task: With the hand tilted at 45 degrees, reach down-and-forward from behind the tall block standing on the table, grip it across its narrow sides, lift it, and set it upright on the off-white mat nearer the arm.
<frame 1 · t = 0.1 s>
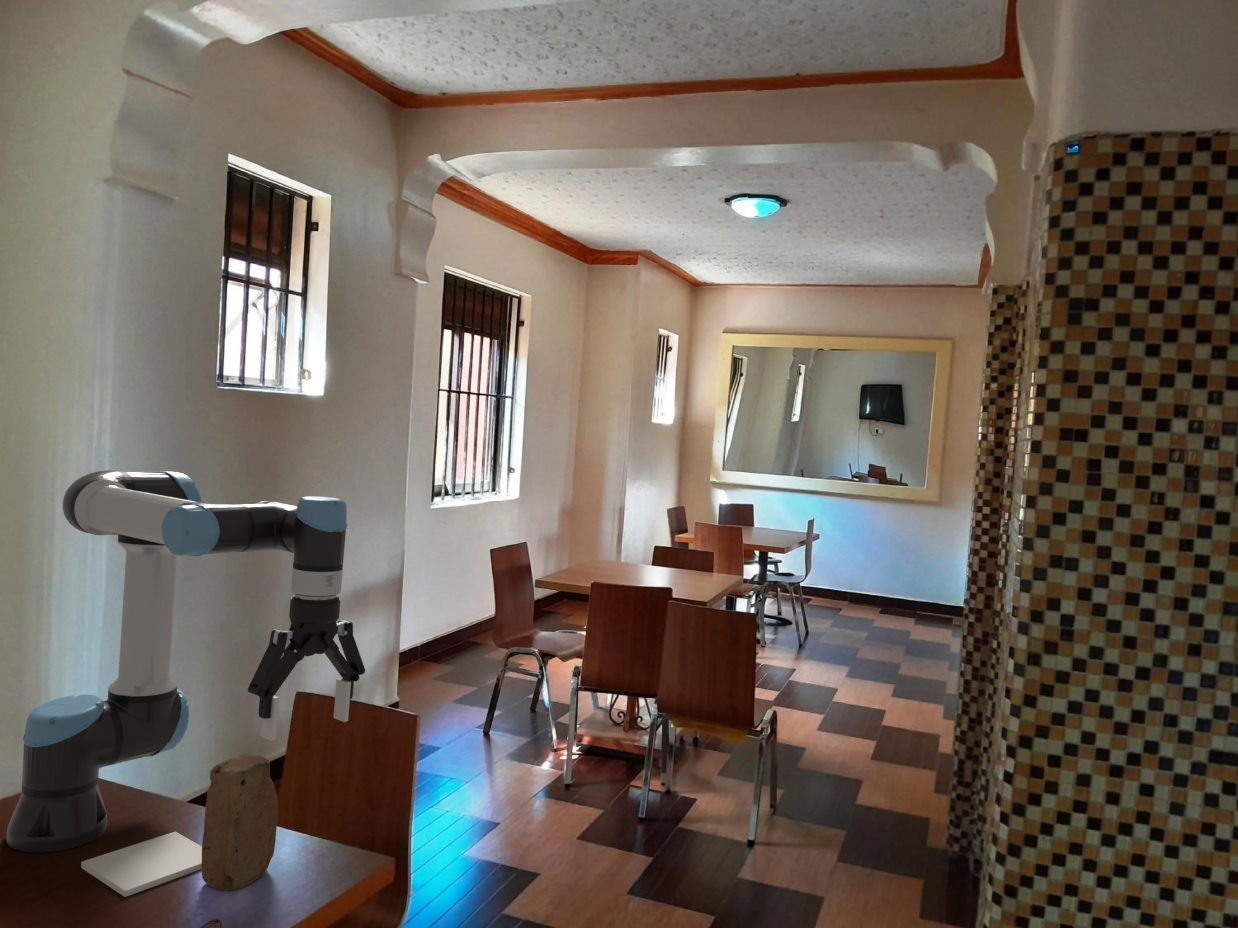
hand: (305, 728, 144), 28 cm above the table, tool pointing down, fingers open, 13 cm apart
mat: (151, 864, 153), on the table
block: (238, 879, 151), on the table
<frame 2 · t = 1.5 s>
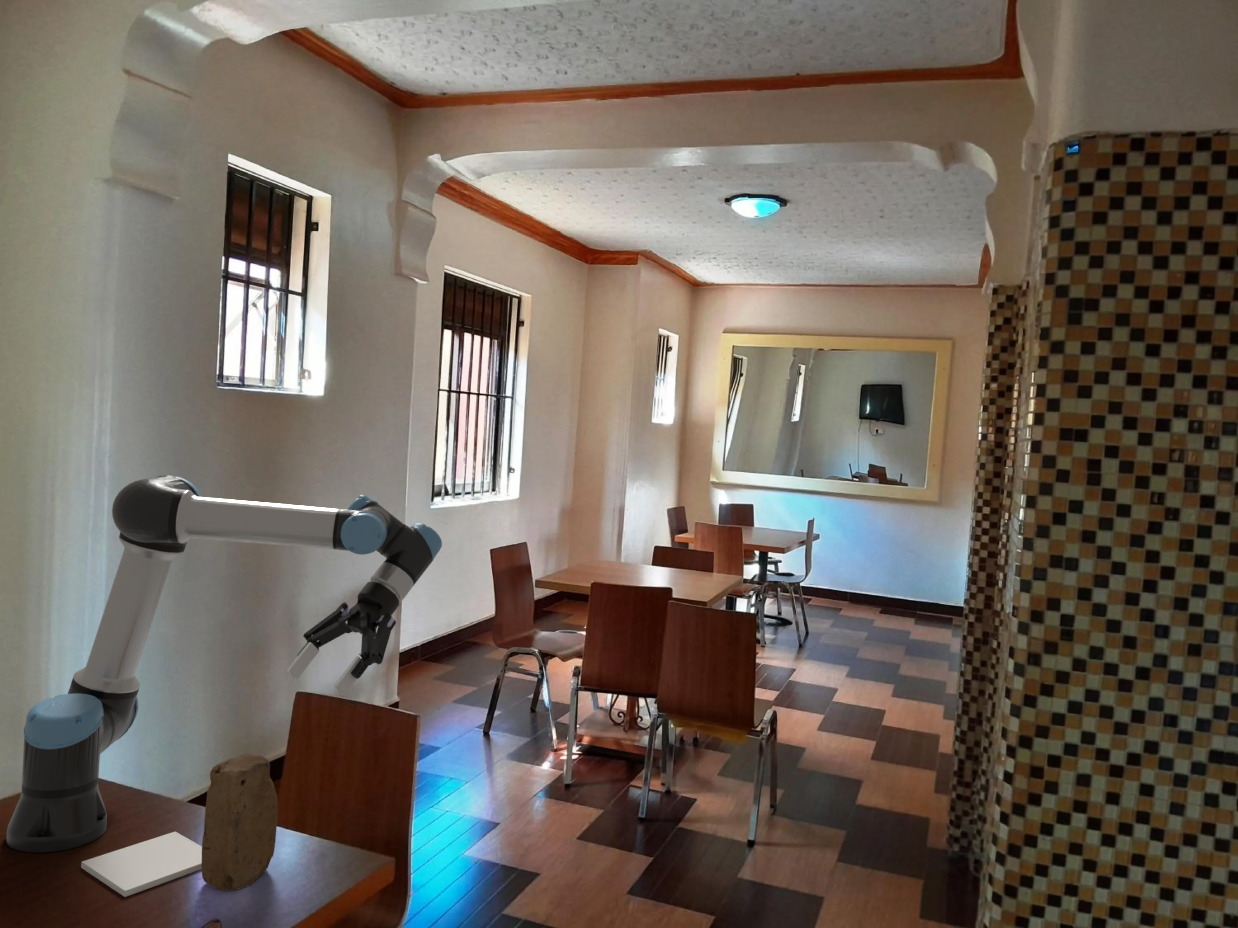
hand: (314, 682, 165), 29 cm above the table, tool tilted 45°, fingers open, 13 cm apart
nothing on the table moved.
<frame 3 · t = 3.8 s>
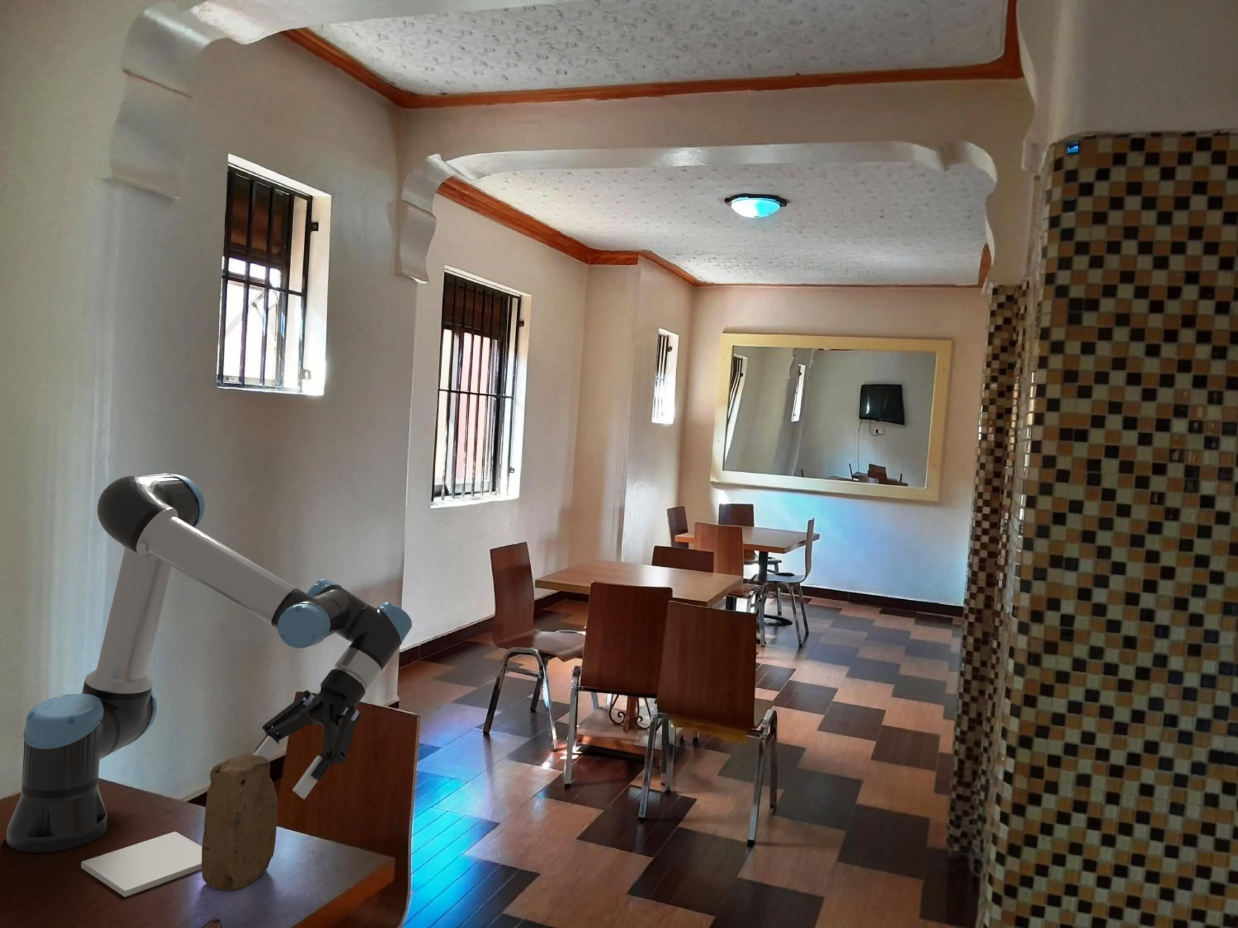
hand: (272, 783, 154), 15 cm above the table, tool tilted 45°, fingers open, 13 cm apart
nothing on the table moved.
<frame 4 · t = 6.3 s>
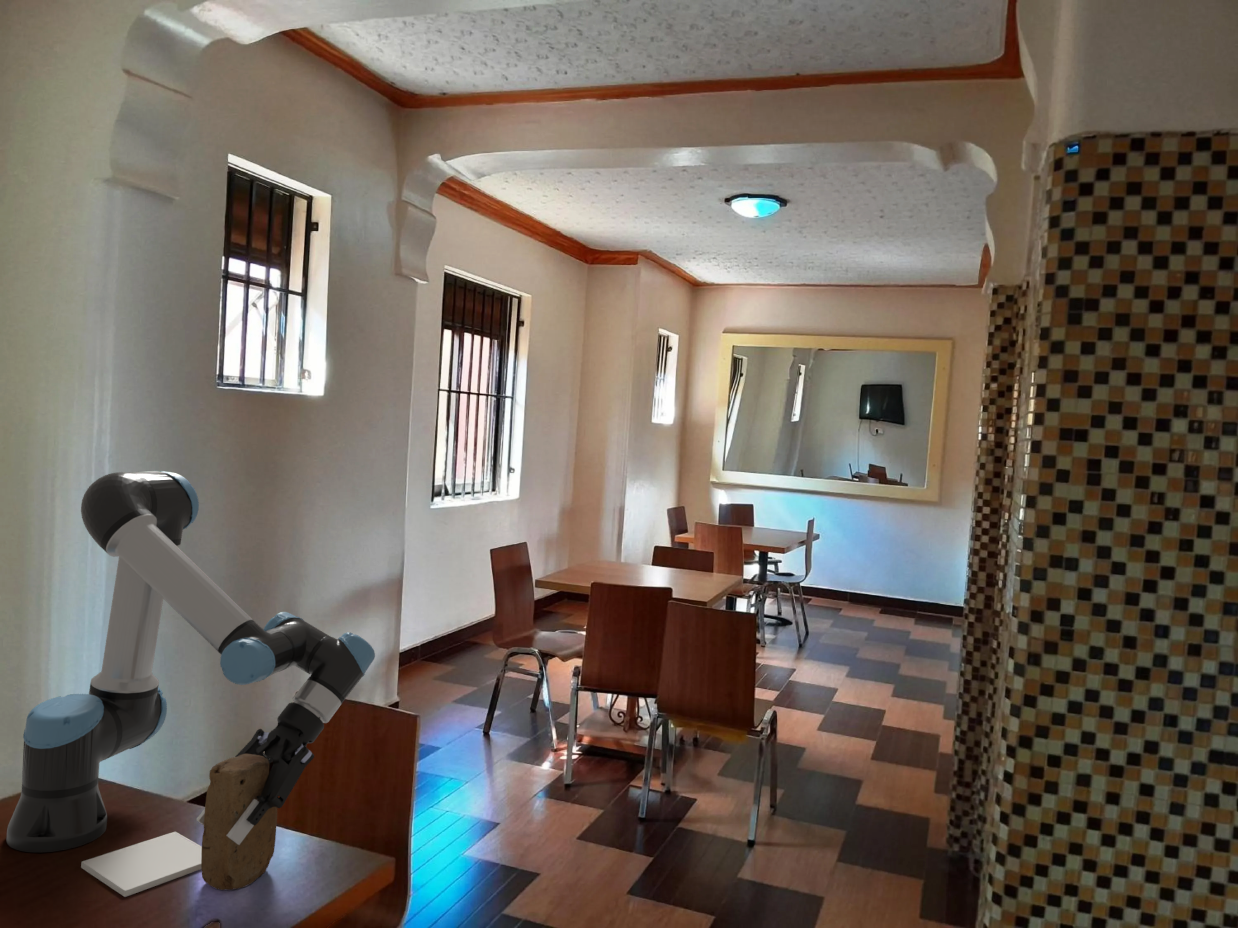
hand: (217, 831, 147), 9 cm above the table, tool tilted 45°, fingers closed on block, 8 cm apart
block: (237, 879, 151), on the table, touching gripper
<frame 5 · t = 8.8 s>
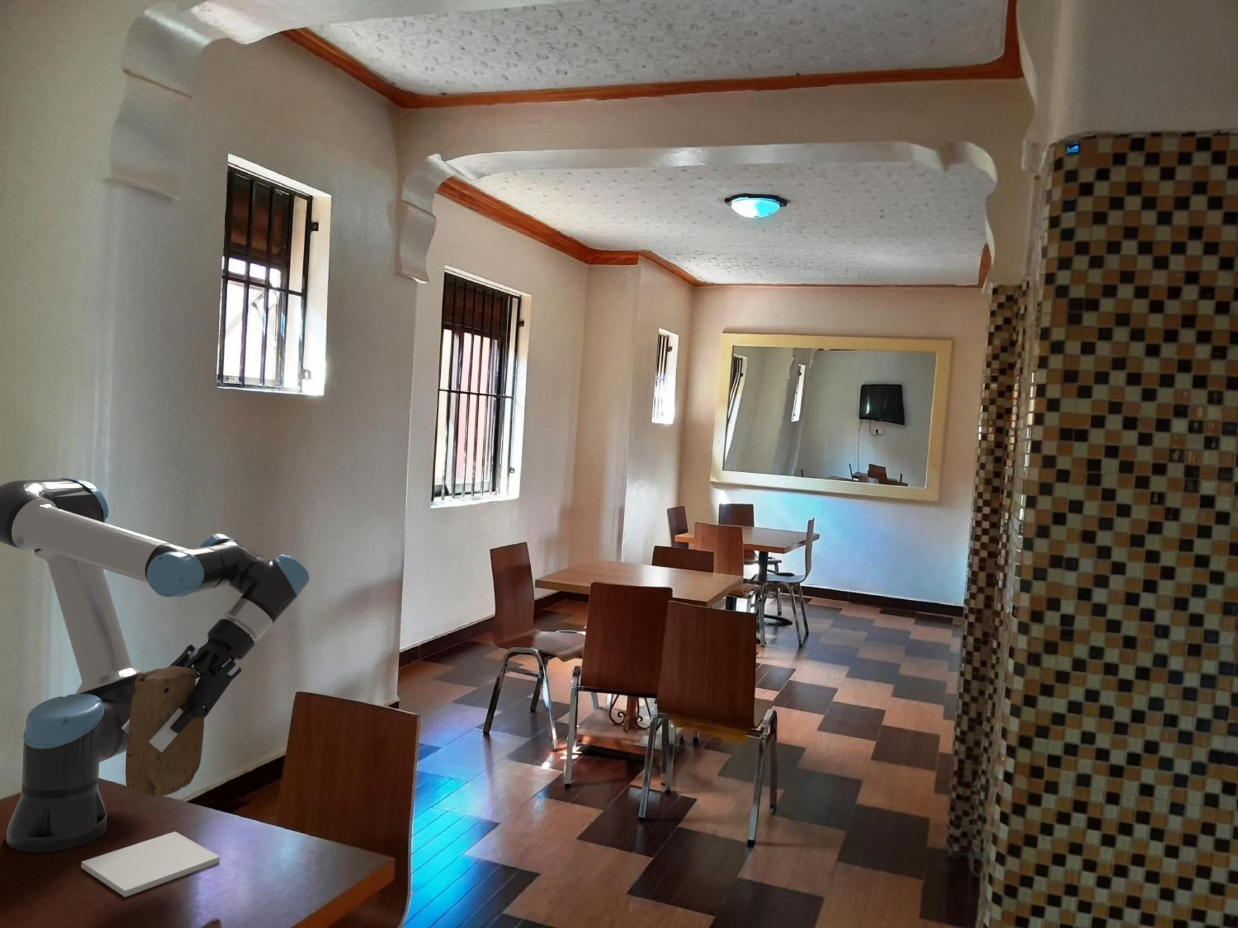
hand: (141, 739, 149), 22 cm above the table, tool tilted 45°, fingers closed on block, 8 cm apart
block: (162, 788, 153), point 13 cm above the table, touching gripper
when the fingers open (11 cm above the table, at t = 11.6 s): block stays where it is, resting on mat.
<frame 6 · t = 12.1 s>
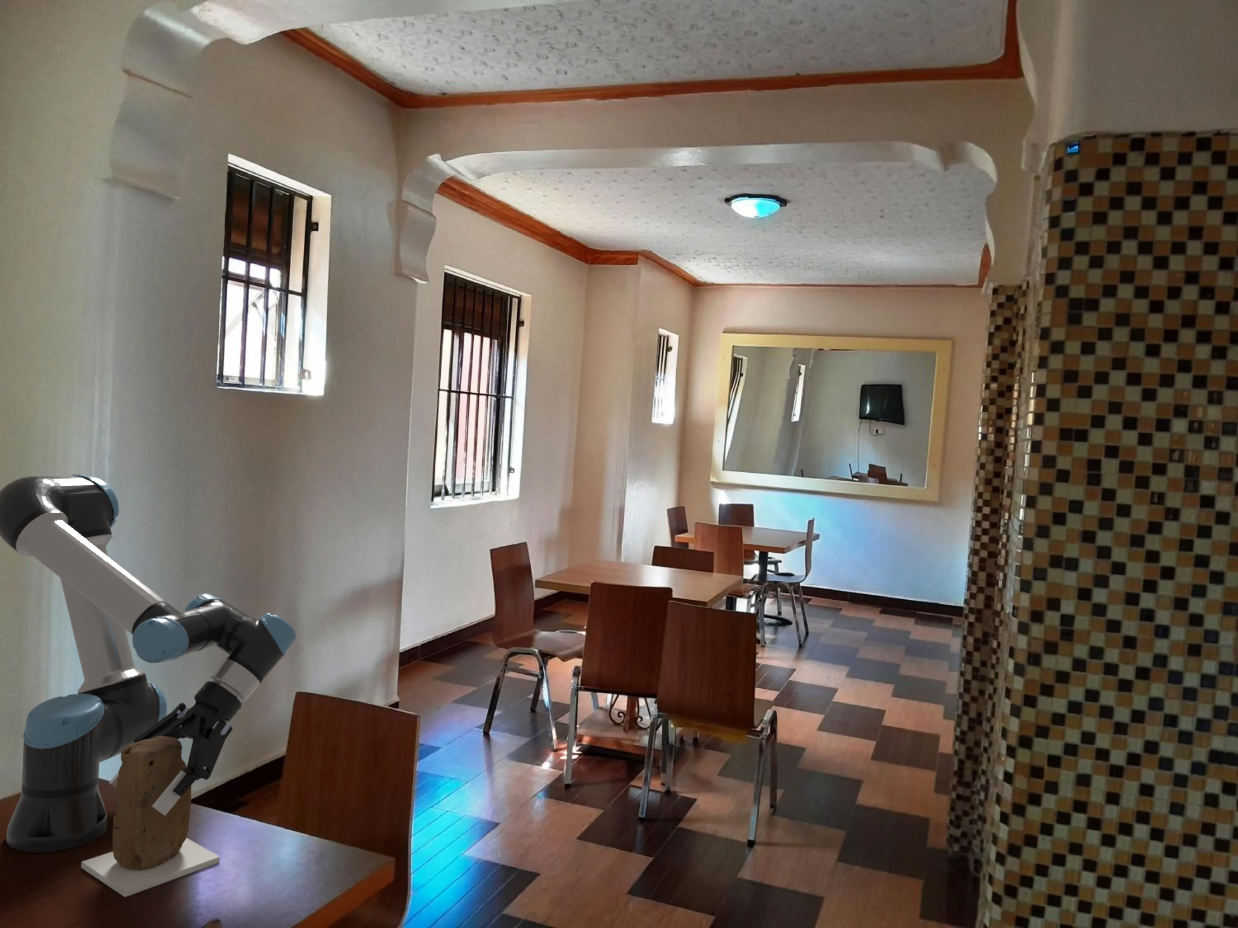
hand: (136, 798, 150), 12 cm above the table, tool tilted 45°, fingers open, 13 cm apart
block: (150, 859, 153), point 1 cm above the table, touching mat
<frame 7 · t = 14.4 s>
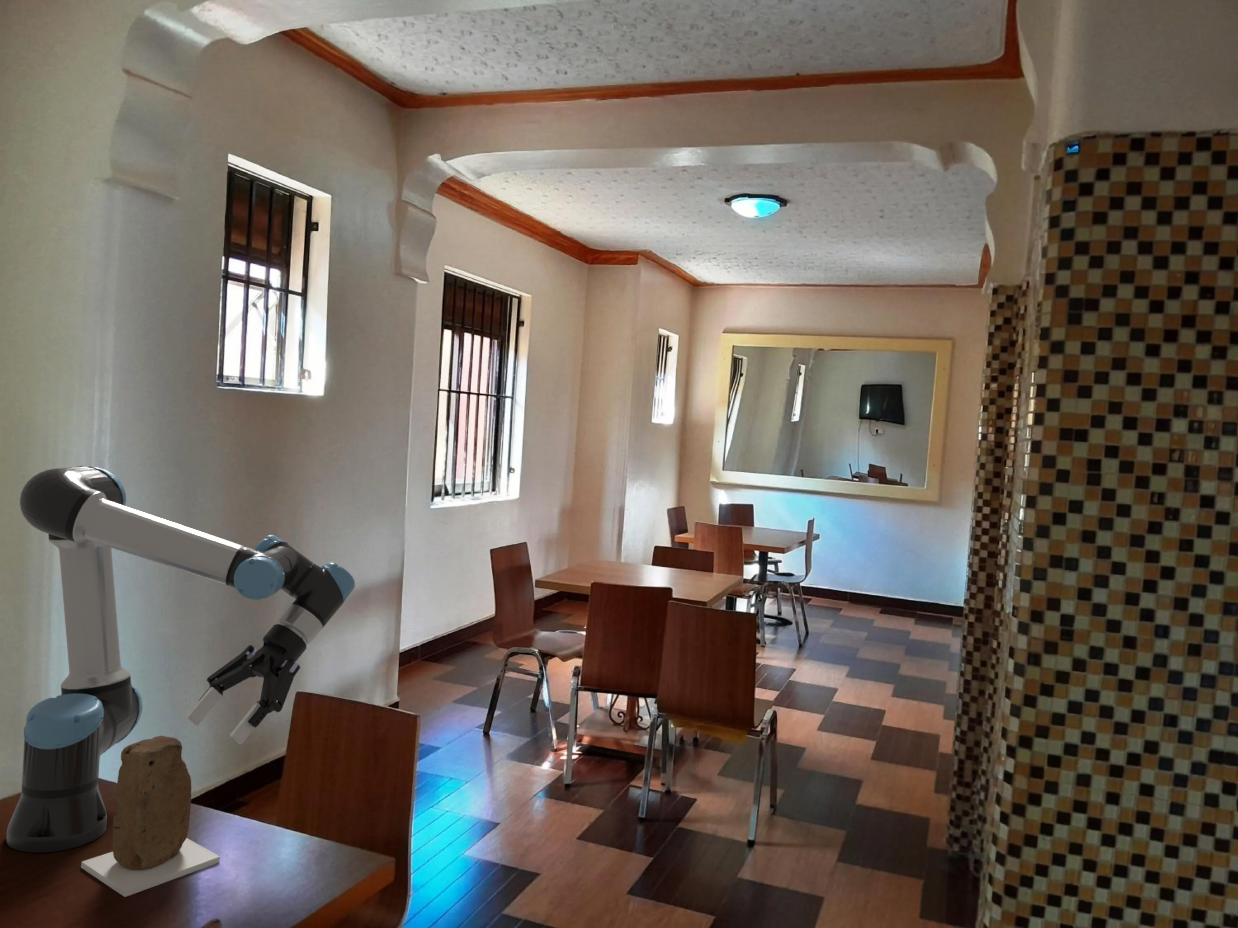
hand: (212, 730, 161), 21 cm above the table, tool tilted 45°, fingers open, 13 cm apart
nothing on the table moved.
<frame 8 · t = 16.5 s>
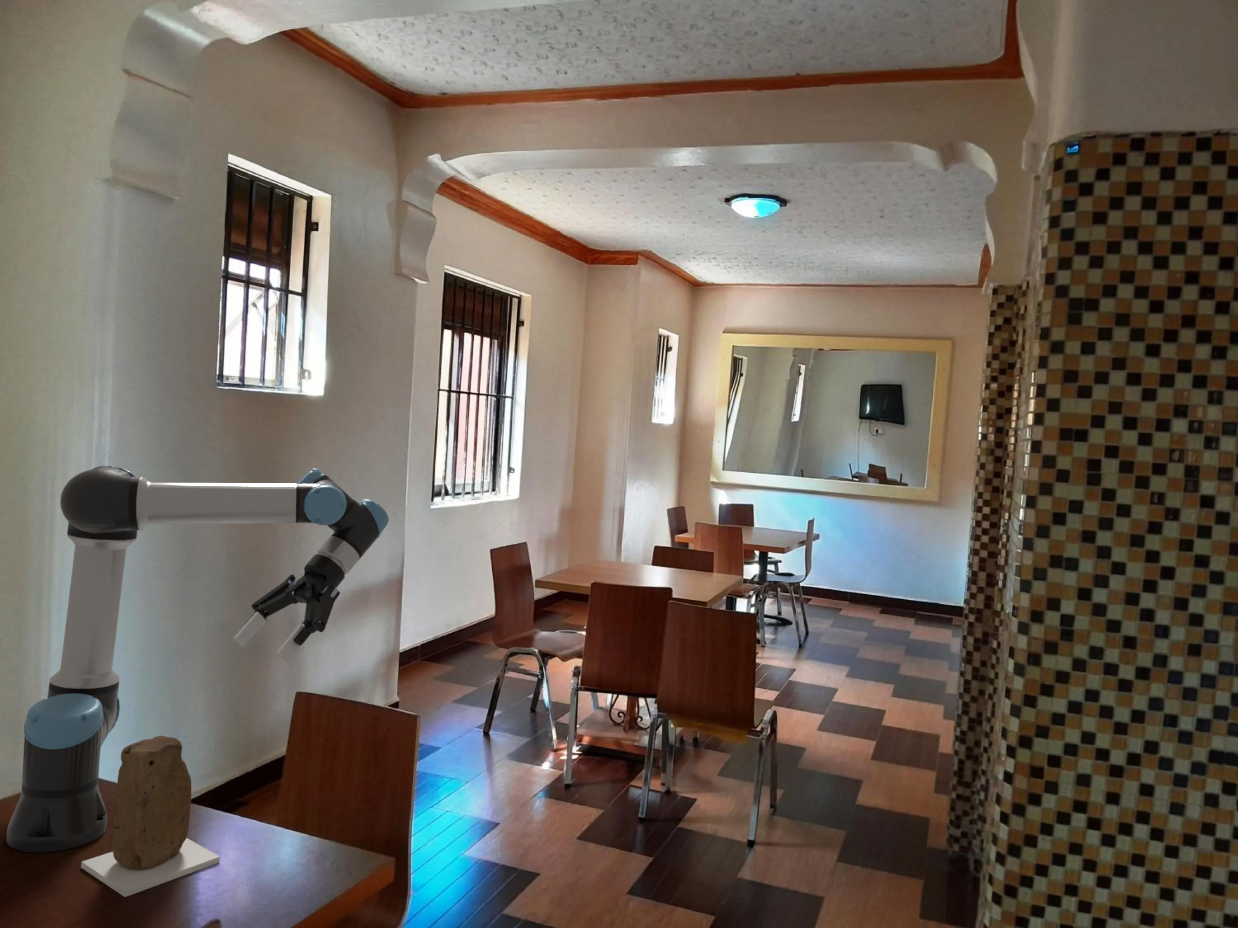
hand: (259, 649, 172), 33 cm above the table, tool tilted 45°, fingers open, 13 cm apart
nothing on the table moved.
at the end: block inside the target area on the mat (0.5 cm from its centre), point 0.8 cm above the mat's base; block tilted 0°; the gripper is holding nothing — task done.
